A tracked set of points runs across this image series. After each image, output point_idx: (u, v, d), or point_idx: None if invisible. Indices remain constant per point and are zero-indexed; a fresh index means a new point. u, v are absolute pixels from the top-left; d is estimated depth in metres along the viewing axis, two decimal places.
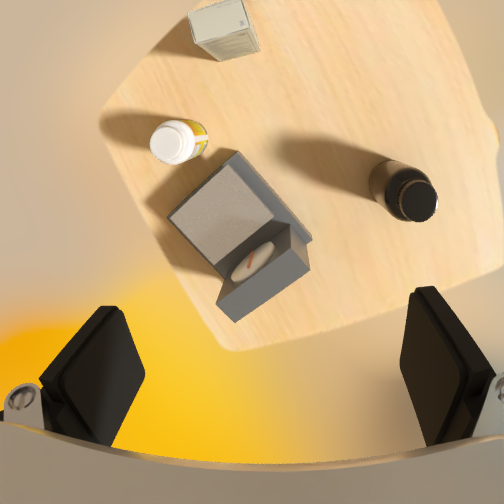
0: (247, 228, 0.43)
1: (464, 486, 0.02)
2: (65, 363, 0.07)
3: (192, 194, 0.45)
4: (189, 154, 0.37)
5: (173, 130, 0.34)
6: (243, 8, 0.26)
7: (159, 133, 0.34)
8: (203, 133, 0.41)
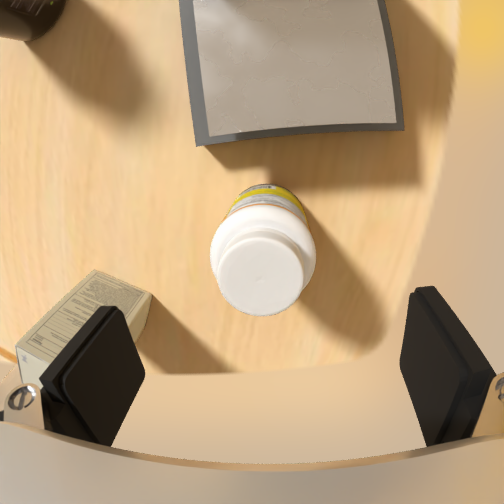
0: (257, 3, 0.15)
1: (464, 486, 0.02)
2: (65, 364, 0.07)
3: (327, 128, 0.19)
4: (244, 211, 0.16)
5: (222, 290, 0.15)
6: (20, 371, 0.17)
7: (255, 306, 0.15)
8: None
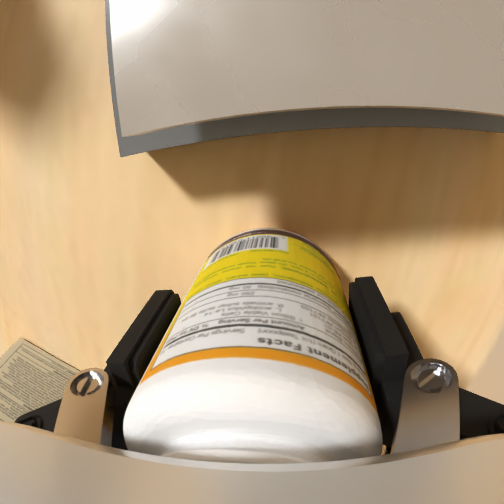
0: None
1: (464, 486, 0.02)
2: (134, 345, 0.08)
3: (400, 119, 0.08)
4: (189, 384, 0.05)
5: None
6: None
7: None
8: None
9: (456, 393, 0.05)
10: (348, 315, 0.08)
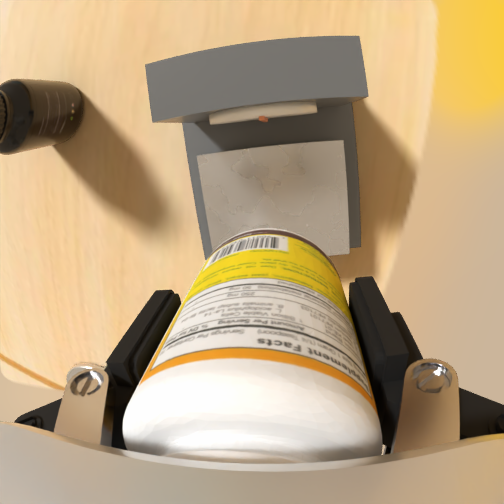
0: (247, 161, 0.23)
1: (464, 486, 0.02)
2: (134, 345, 0.08)
3: None
4: (189, 385, 0.05)
5: None
6: None
7: None
8: None
9: (456, 393, 0.05)
10: (348, 316, 0.08)
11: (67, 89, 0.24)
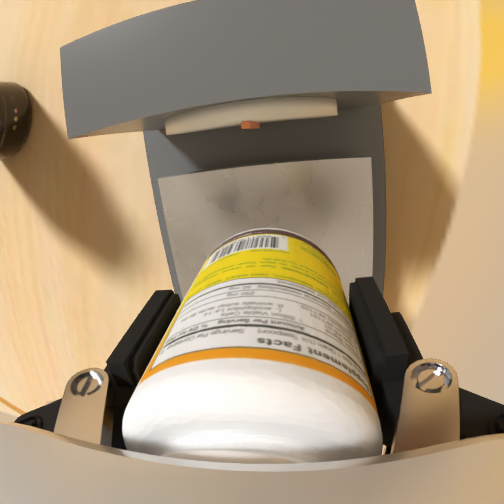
0: (229, 187, 0.16)
1: (464, 486, 0.02)
2: (134, 345, 0.08)
3: None
4: (188, 385, 0.05)
5: None
6: None
7: None
8: None
9: (456, 393, 0.05)
10: (348, 315, 0.08)
11: (10, 91, 0.17)
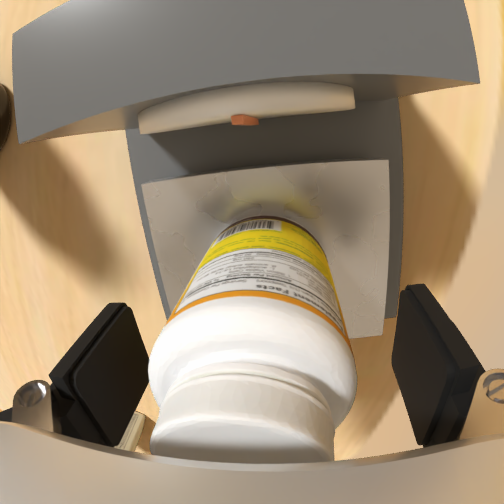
0: (223, 194, 0.14)
1: (464, 486, 0.02)
2: (75, 360, 0.07)
3: None
4: (206, 316, 0.07)
5: None
6: None
7: None
8: None
9: None
10: (330, 281, 0.10)
11: None
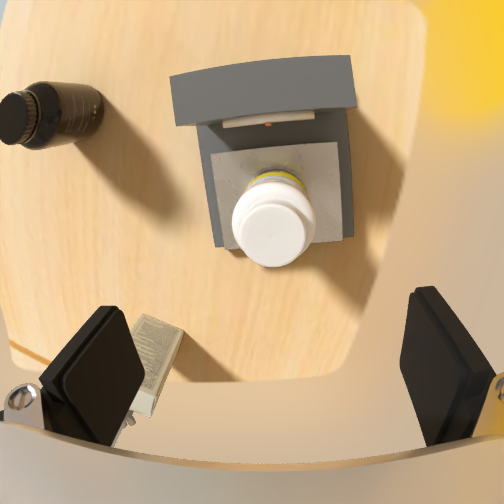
0: (254, 160, 0.27)
1: (464, 486, 0.02)
2: (65, 364, 0.07)
3: None
4: (259, 187, 0.20)
5: (243, 246, 0.19)
6: None
7: (268, 259, 0.19)
8: None
9: None
10: (305, 191, 0.24)
11: (89, 92, 0.28)
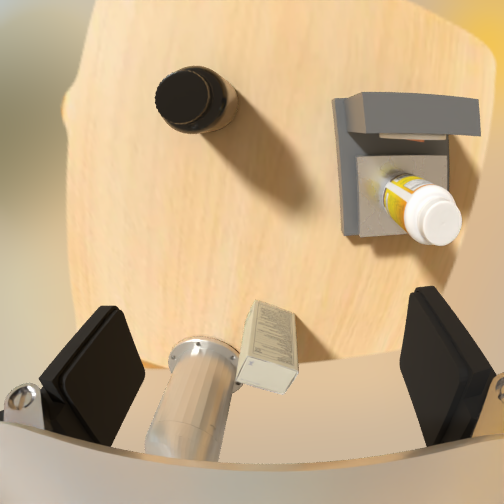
0: (390, 164, 0.32)
1: (464, 486, 0.02)
2: (65, 364, 0.07)
3: None
4: (427, 187, 0.25)
5: (425, 230, 0.24)
6: (240, 371, 0.34)
7: (439, 239, 0.24)
8: (390, 192, 0.30)
9: None
10: None
11: (231, 85, 0.32)
